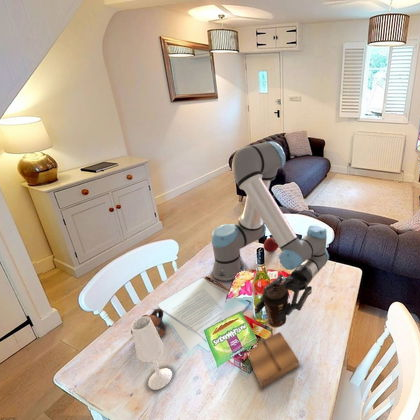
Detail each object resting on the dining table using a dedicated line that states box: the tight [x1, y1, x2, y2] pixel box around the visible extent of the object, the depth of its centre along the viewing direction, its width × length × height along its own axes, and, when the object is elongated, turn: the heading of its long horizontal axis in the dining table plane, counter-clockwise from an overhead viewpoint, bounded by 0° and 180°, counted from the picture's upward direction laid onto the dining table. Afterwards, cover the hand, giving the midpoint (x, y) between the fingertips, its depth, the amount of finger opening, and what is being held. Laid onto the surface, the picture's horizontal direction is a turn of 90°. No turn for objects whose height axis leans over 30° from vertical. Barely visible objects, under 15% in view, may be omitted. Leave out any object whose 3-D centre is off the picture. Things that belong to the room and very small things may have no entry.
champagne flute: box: [130, 316, 173, 391], centre depth 78 cm, size 7×7×24 cm
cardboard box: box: [248, 331, 300, 389], centre depth 89 cm, size 13×13×3 cm
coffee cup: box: [261, 283, 290, 329], centre depth 89 cm, size 9×8×13 cm
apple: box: [263, 237, 279, 253], centre depth 146 cm, size 8×8×8 cm
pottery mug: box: [130, 308, 167, 338], centre depth 99 cm, size 12×10×8 cm
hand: (267, 314), depth 85 cm, fingers closed on coffee cup, 7 cm apart
